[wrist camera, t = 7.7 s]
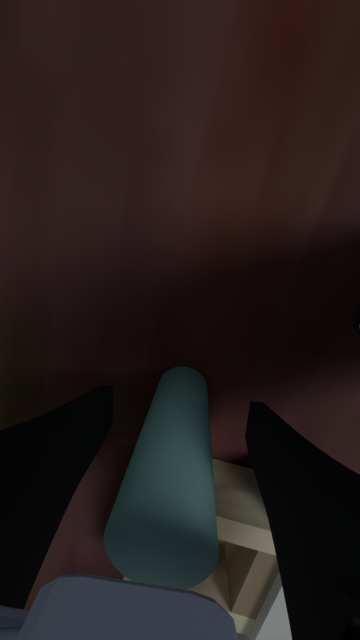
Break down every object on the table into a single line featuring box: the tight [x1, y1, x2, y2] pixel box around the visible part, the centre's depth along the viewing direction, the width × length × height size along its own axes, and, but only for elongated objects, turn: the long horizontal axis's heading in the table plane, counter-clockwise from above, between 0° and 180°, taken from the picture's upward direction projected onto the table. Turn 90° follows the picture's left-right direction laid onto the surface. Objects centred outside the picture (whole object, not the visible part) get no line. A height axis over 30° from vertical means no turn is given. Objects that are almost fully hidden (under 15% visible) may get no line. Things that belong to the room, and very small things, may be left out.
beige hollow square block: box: [123, 458, 279, 636], centre depth 13 cm, size 8×8×4 cm
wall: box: [237, 572, 292, 640], centre depth 13 cm, size 2×12×4 cm, turn 166°
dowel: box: [103, 366, 219, 589], centre depth 10 cm, size 3×3×8 cm
